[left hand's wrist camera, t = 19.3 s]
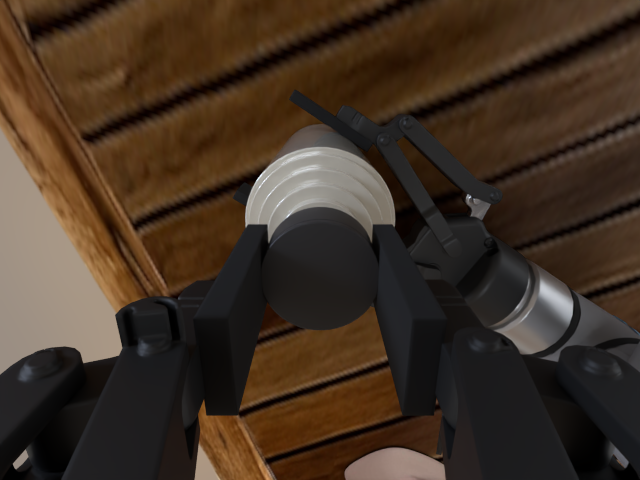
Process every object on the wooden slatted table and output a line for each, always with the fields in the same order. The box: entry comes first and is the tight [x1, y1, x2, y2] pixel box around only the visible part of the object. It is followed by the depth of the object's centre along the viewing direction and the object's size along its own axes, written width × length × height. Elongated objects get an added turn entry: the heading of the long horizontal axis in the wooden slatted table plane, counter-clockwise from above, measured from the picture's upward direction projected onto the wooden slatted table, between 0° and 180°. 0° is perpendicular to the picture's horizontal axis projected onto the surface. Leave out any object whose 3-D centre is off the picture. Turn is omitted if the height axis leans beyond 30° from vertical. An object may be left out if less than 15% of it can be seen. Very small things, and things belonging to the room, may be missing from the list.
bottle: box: [245, 124, 395, 243], centre depth 24 cm, size 7×7×22 cm
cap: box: [261, 207, 379, 330], centre depth 14 cm, size 4×4×2 cm
